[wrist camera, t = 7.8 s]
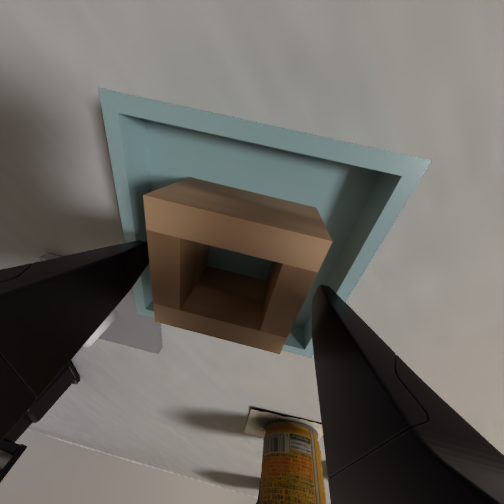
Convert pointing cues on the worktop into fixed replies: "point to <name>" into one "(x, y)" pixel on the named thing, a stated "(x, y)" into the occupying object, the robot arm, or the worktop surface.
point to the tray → (258, 186)
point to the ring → (238, 240)
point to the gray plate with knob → (126, 325)
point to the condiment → (288, 459)
